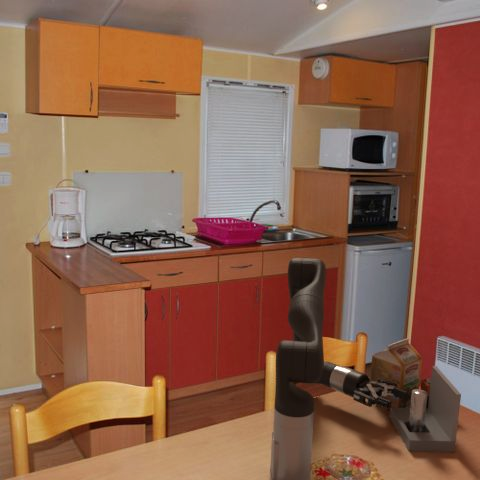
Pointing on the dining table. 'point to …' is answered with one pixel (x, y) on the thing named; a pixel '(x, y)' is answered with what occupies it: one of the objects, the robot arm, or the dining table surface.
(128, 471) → the dining table surface
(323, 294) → the robot arm
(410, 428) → the rod
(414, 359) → the milk carton
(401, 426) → the grey l-shaped stand
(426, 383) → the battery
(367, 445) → the dining table surface
